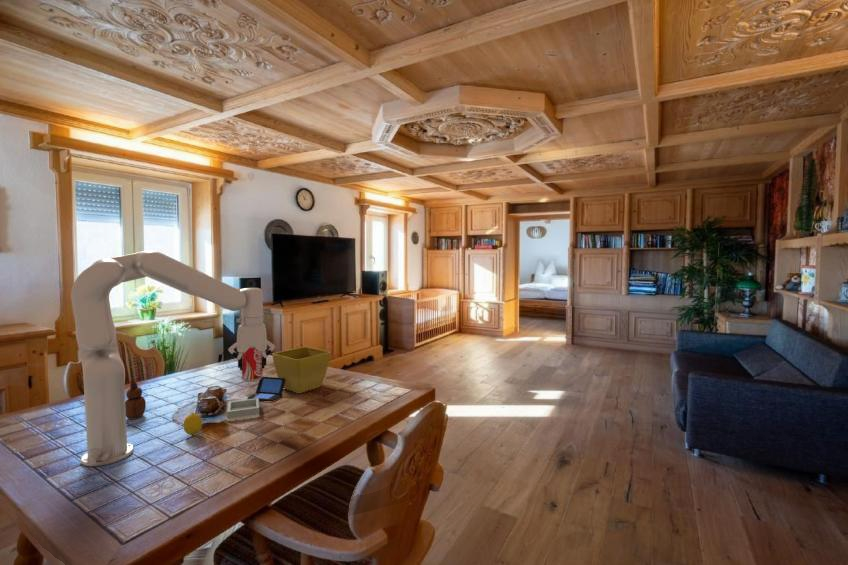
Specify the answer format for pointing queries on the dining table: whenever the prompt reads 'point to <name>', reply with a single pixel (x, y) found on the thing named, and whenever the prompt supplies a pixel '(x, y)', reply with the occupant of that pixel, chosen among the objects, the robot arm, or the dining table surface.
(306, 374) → the flower pot
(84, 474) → the dining table surface
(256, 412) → the holder
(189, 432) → the lemon
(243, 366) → the soda can
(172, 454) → the dining table surface
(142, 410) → the wooden figurine
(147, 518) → the dining table surface
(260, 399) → the handheld game console
